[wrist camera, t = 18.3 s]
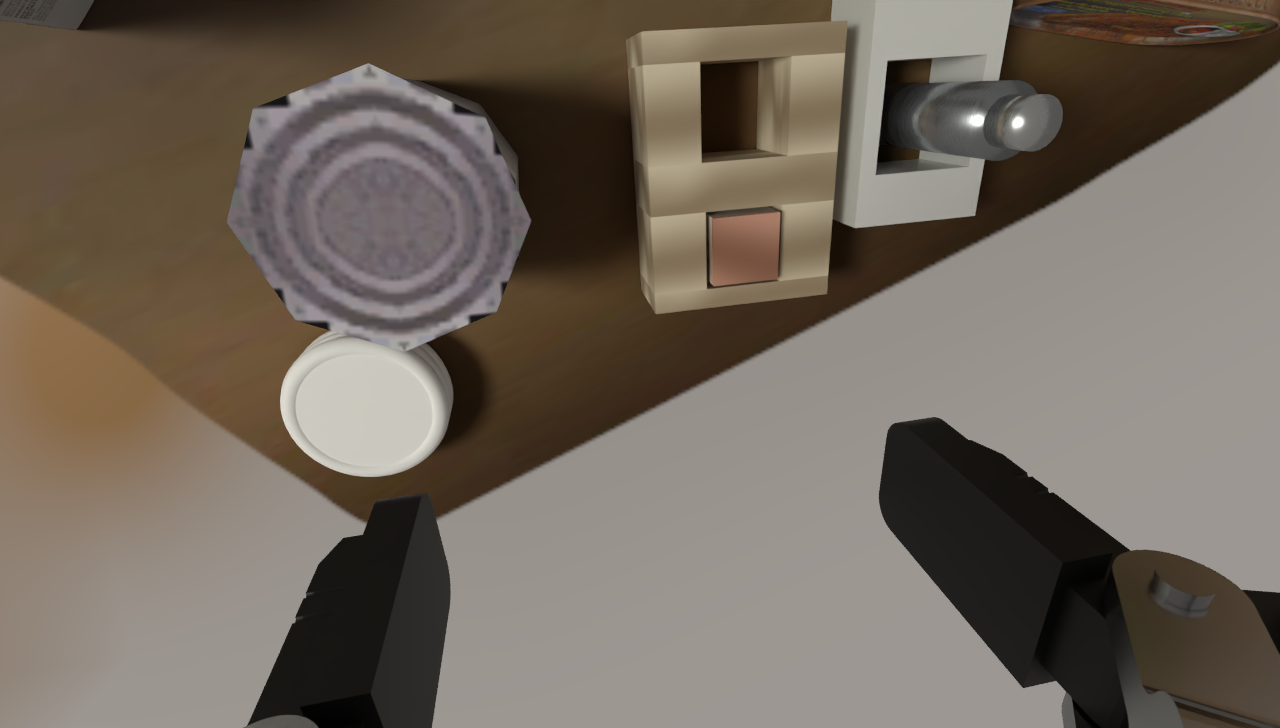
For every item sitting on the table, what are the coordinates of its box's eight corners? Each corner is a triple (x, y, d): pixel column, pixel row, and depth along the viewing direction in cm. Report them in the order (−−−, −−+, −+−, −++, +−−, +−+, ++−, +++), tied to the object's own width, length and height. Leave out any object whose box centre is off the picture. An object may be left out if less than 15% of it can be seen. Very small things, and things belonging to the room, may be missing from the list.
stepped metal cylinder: (859, 85, 37) (1010, 81, 26) (912, 82, 38) (1083, 76, 26) (854, 146, 39) (994, 168, 27) (904, 141, 39) (1064, 161, 28)
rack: (835, -51, 34) (882, -74, 30) (962, -56, 35) (1026, -78, 31) (818, 213, 40) (854, 228, 36) (926, 202, 41) (974, 215, 37)
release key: (693, 205, 38) (713, 218, 34) (753, 199, 38) (780, 212, 34) (694, 266, 39) (713, 286, 35) (752, 260, 40) (777, 279, 36)
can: (343, 44, 32) (251, 19, 21) (548, 123, 35) (558, 136, 24) (309, 244, 36) (216, 310, 25) (496, 298, 39) (486, 377, 28)
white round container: (476, 424, 43) (472, 451, 40) (343, 470, 42) (328, 500, 39) (415, 299, 38) (406, 317, 35) (266, 348, 38) (242, 371, 35)
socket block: (626, 40, 34) (641, 31, 30) (806, 30, 36) (847, 20, 31) (641, 289, 40) (655, 314, 36) (794, 272, 42) (826, 293, 37)
